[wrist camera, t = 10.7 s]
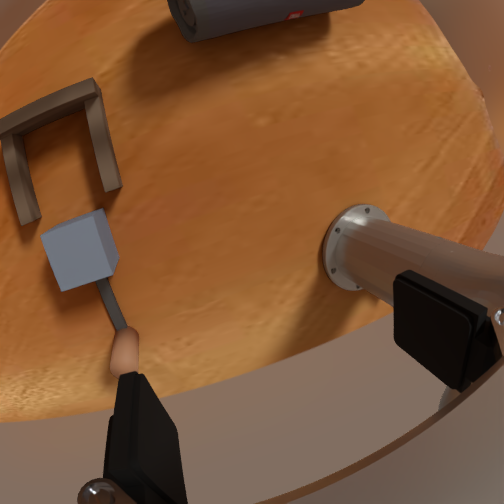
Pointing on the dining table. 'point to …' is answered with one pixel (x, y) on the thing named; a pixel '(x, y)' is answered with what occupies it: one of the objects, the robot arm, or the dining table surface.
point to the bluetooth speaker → (243, 14)
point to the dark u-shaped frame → (47, 112)
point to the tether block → (92, 275)
